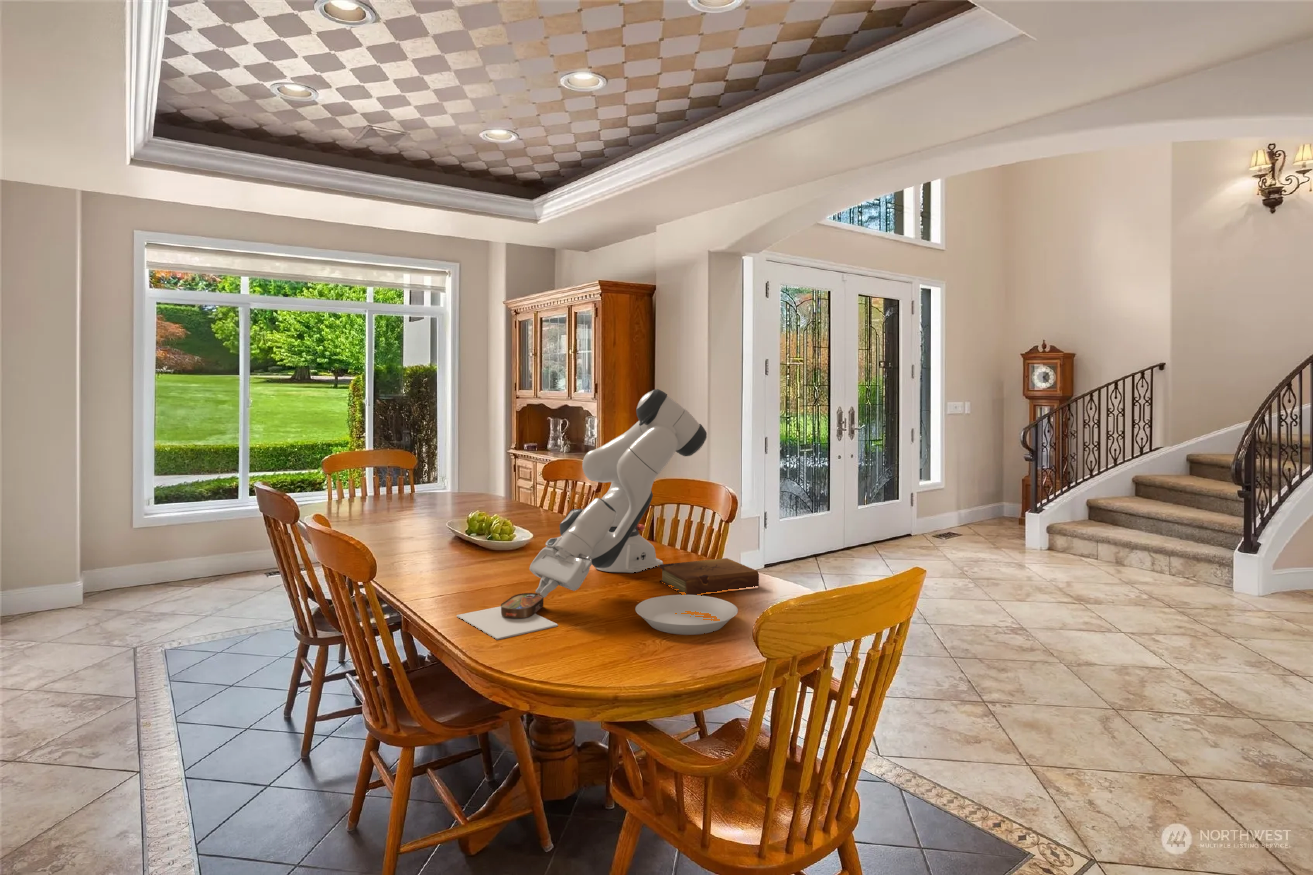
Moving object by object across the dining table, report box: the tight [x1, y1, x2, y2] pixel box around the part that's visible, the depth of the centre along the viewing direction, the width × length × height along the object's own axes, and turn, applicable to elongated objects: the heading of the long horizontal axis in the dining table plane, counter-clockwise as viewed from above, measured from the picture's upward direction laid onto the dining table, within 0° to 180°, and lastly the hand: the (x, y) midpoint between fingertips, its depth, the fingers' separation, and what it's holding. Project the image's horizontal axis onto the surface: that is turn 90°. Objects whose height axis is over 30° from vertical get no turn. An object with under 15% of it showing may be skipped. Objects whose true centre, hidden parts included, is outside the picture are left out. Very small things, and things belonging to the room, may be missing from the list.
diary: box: [658, 557, 760, 595], centre depth 210 cm, size 23×19×6 cm
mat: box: [455, 605, 559, 641], centre depth 176 cm, size 16×22×1 cm
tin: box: [500, 592, 545, 618], centre depth 183 cm, size 15×3×8 cm
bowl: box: [634, 594, 739, 636], centre depth 175 cm, size 25×25×4 cm
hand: (539, 595), depth 181 cm, fingers closed
